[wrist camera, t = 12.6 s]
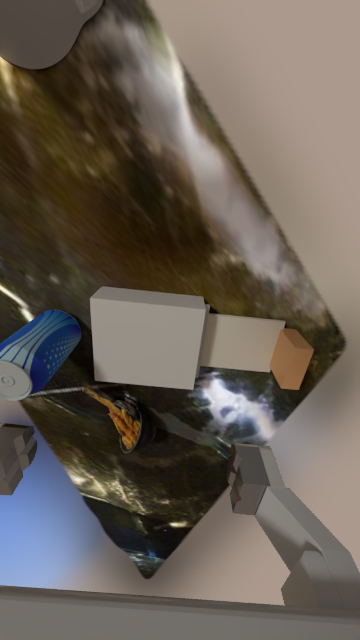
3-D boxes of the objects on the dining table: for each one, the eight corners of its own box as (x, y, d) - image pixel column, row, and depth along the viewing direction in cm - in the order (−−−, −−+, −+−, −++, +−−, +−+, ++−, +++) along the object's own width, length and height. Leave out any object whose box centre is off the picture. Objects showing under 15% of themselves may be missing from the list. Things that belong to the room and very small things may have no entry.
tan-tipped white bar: (173, 309, 43) (171, 327, 37) (298, 322, 44) (317, 341, 37) (168, 361, 48) (166, 384, 41) (281, 371, 48) (295, 396, 42)
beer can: (44, 299, 44) (-25, 345, 29) (89, 317, 45) (44, 369, 31) (35, 336, 47) (-31, 393, 33) (77, 352, 49) (32, 413, 34)
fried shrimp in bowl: (140, 457, 55) (57, 450, 46) (144, 407, 61) (73, 392, 52) (163, 453, 49) (75, 443, 40) (165, 398, 55) (89, 379, 46)
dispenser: (102, 286, 43) (89, 297, 37) (208, 297, 43) (212, 310, 38) (104, 361, 49) (94, 380, 44) (197, 370, 50) (198, 390, 44)
